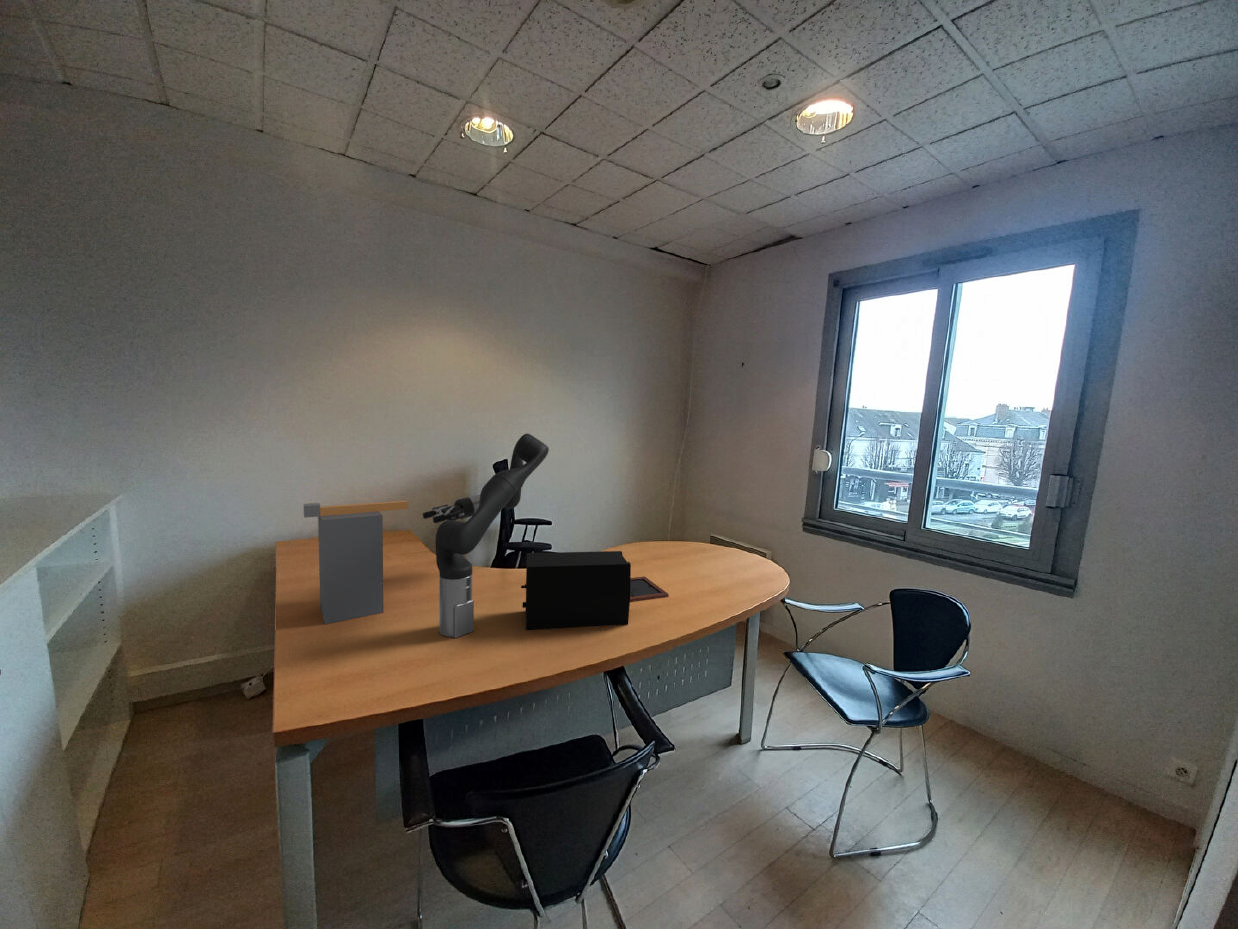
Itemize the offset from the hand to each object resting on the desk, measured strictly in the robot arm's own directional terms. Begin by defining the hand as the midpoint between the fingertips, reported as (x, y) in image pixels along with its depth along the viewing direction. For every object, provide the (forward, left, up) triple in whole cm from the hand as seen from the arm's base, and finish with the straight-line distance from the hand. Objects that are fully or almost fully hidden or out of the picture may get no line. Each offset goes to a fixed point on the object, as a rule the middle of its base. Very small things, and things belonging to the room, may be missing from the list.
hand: (428, 518), depth 160 cm
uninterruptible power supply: (-53, -20, -28) cm, 63 cm away
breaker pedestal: (+5, +24, -28) cm, 37 cm away
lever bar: (+4, +21, +4) cm, 22 cm away
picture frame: (-52, -51, -28) cm, 78 cm away
